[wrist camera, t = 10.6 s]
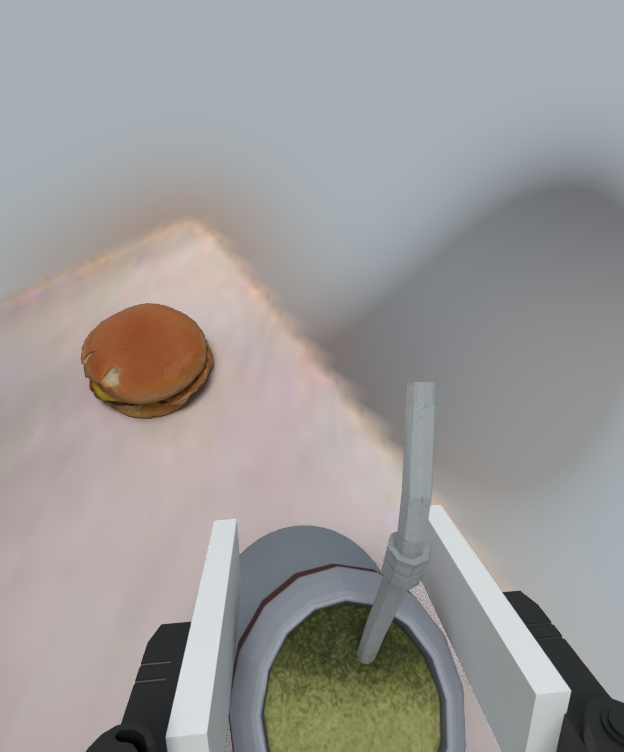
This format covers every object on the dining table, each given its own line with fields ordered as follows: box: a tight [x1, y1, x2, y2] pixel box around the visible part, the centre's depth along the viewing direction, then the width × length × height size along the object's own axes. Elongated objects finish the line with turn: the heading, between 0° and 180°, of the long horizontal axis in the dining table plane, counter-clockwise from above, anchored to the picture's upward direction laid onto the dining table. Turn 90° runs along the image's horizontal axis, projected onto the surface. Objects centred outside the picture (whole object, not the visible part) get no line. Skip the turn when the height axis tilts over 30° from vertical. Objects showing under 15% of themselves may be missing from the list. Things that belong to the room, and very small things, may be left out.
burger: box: [81, 303, 213, 418], centre depth 33 cm, size 10×9×5 cm
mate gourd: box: [229, 382, 466, 752], centre depth 11 cm, size 8×8×15 cm
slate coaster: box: [234, 526, 382, 661], centre depth 26 cm, size 12×12×1 cm
